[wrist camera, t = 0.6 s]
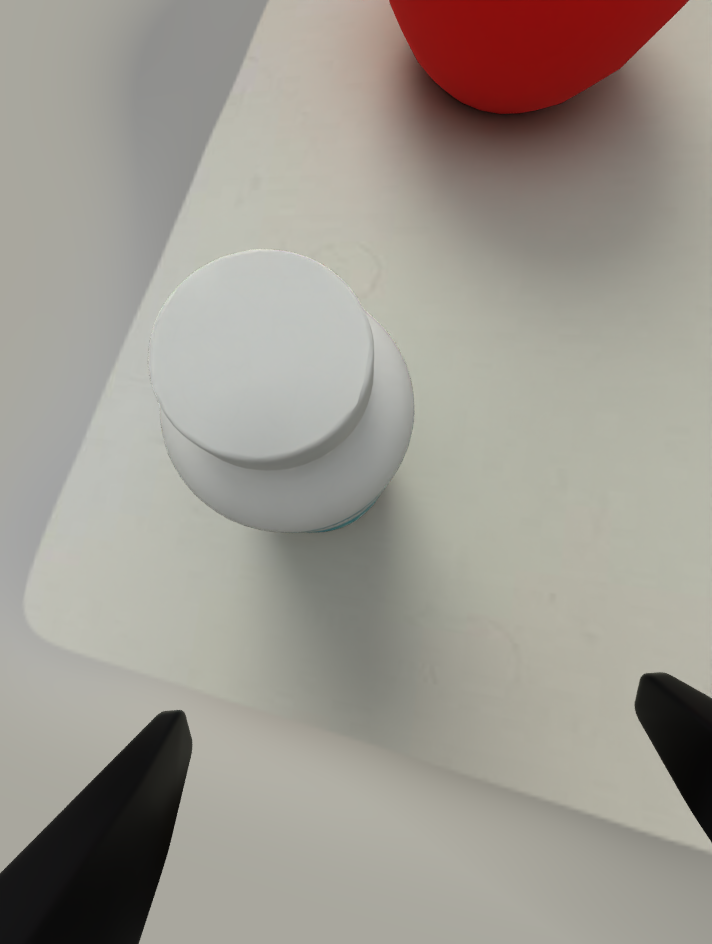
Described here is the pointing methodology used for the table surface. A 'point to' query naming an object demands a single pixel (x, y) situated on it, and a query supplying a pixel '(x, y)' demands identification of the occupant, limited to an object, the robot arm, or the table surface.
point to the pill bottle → (279, 392)
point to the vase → (526, 45)
